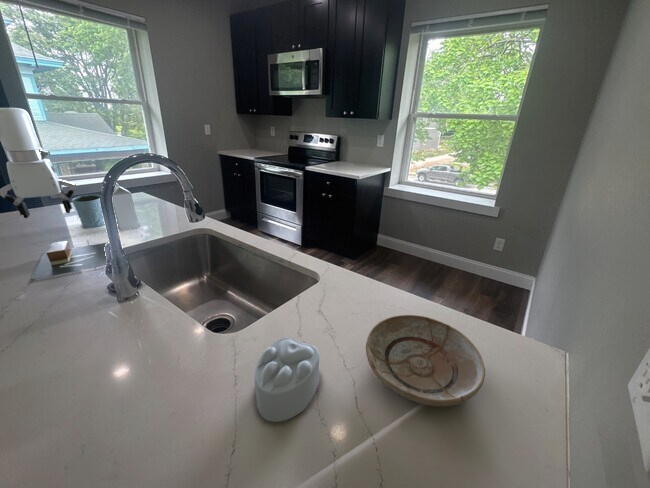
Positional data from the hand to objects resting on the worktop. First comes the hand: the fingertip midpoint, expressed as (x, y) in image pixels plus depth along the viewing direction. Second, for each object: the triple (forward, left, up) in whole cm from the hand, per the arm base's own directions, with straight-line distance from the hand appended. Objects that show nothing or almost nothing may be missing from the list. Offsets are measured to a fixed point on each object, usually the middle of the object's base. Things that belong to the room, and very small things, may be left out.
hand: (48, 214), depth 90 cm
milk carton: (+17, +28, -18) cm, 38 cm away
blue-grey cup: (+5, +37, -18) cm, 41 cm away
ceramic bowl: (+68, -89, -18) cm, 113 cm away
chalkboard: (+2, +1, -17) cm, 18 cm away
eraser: (-2, +3, -16) cm, 17 cm away
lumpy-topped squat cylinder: (+41, -80, -18) cm, 92 cm away
